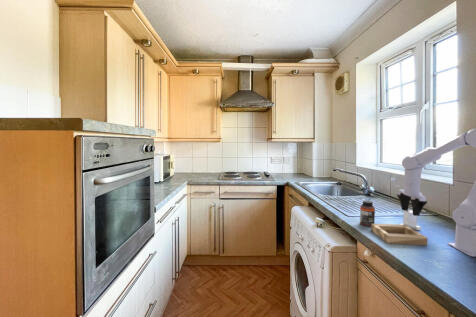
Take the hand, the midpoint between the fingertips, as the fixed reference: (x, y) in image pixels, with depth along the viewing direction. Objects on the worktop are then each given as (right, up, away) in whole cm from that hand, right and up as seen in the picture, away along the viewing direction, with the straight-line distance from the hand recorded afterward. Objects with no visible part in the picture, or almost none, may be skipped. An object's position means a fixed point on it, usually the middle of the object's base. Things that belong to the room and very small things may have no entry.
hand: (410, 212), depth 98 cm
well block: (-13, -8, -9) cm, 17 cm away
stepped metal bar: (0, -7, 0) cm, 7 cm away
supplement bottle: (-16, -7, +5) cm, 19 cm away
